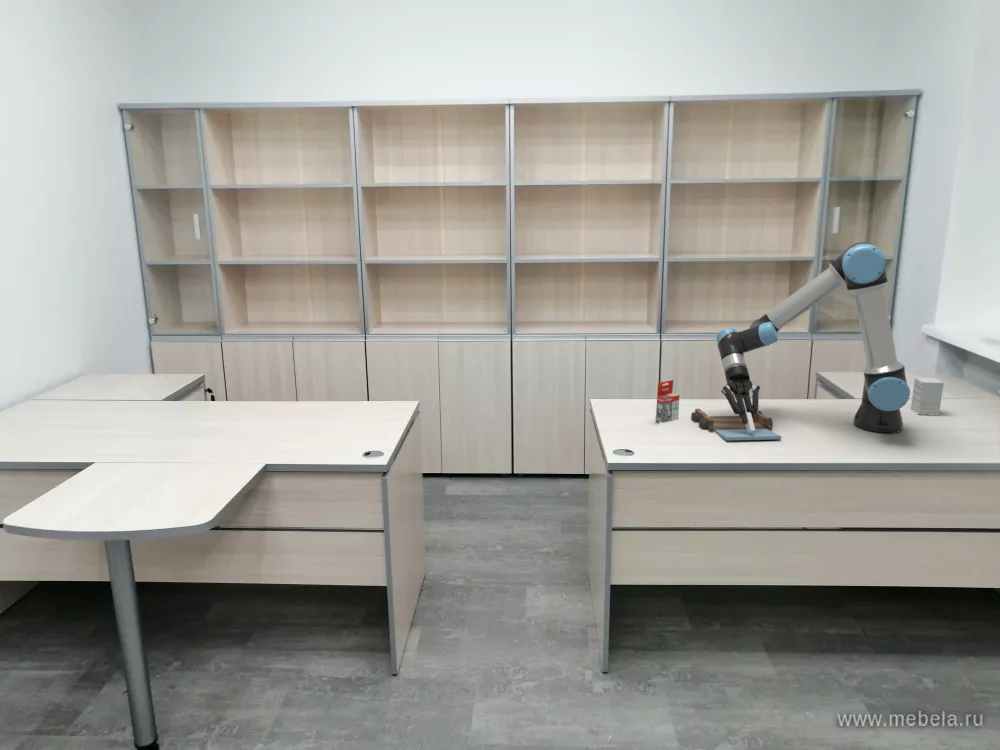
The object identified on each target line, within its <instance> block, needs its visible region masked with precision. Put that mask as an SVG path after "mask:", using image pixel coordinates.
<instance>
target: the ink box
mask: <svg viewBox="0 0 1000 750" xmlns="http://www.w3.org/2000/svg"><path fill="white" fill-rule="evenodd" d="M665 384H666V385H665ZM673 387H674V379H672V380H665V381H660V382H657V392H656V393H657V394H656V395H657V396H656V412H655V423H656V422H657V424H661V423H666V422H671V421H675V420H678V419H679V414H680V413H679V412H680V410H679V409H680V394H677V393H674V392H673Z"/></svg>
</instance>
